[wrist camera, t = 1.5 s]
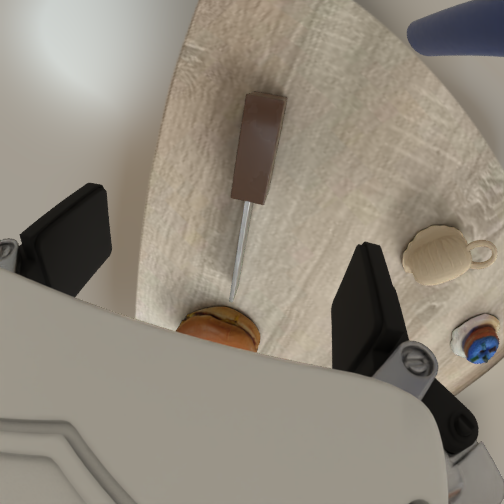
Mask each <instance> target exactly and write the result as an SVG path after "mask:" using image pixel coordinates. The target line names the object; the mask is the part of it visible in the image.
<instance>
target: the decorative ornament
mask: <svg viewBox="0 0 504 504" xmlns="http://www.w3.org/2000/svg"><path fill="white" fill-rule="evenodd" d="M481 246H484V247H488V248H490V249H491V250H492V256H491V258H490V259H489V260H487V261H485V262H473V261H472V257H471V253H470V250H472V249H473V248H476V247H481ZM496 258H497V248H496V247H495V245H494V244H493V243H491V242H489V241H486V240H477V241H474V242H471V243H469V244H468V245H467V241H466V240H465V238H464V236H463V234H462V232H461V231H459V230H457V229H456V228H455V227H448V226H446V225H443V226H435V225H433V226H430V227H428V228H427V229H424V230H422V231H420V232H419V233H417V234H416V236H415V238H414V240H413V241H412V242H410V243H409V244H408V248H407V250H406V251H404V253H403V259H402V265H403V267H404V270H405V272H406V273H413V275H414V278H415V280H416V281H417V282H418V283H420V284H423V285H437V284H441V283H444V282H447V281H450V280H452V279H454V278H456V277H459V276H461V275H462V274H463V273H465V272H466V271H467V270H468V269H469V268H472V269H483V268H486V267H488V266H490V265H491V264H493V263H494V261H495V260H496Z"/></svg>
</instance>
